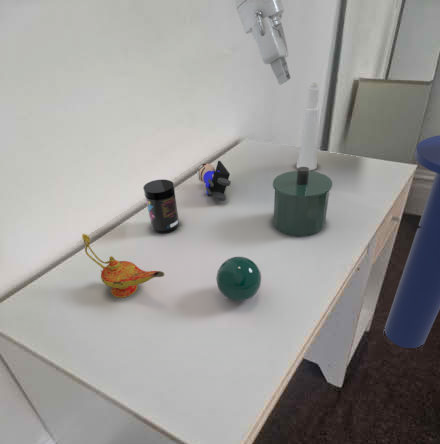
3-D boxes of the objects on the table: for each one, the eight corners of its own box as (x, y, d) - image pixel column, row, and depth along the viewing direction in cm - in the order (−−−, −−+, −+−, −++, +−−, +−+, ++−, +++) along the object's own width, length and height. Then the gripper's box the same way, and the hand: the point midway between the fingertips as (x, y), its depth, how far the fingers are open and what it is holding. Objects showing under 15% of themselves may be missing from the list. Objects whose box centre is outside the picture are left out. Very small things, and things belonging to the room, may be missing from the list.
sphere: (236, 317, 64) (234, 281, 59) (209, 294, 69) (205, 259, 64) (270, 297, 68) (271, 262, 62) (242, 276, 73) (241, 242, 67)
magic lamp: (159, 315, 66) (147, 266, 59) (84, 289, 73) (65, 242, 65) (179, 292, 70) (171, 243, 63) (106, 270, 77) (91, 223, 70)
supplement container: (163, 217, 92) (156, 177, 86) (185, 223, 89) (179, 182, 83) (146, 230, 88) (136, 189, 81) (168, 237, 85) (160, 195, 78)
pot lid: (300, 170, 87) (302, 152, 84) (344, 187, 79) (347, 168, 76) (260, 187, 82) (260, 169, 79) (303, 207, 74) (305, 187, 71)
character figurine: (209, 208, 95) (198, 185, 106) (236, 202, 95) (222, 179, 107) (204, 180, 90) (192, 158, 101) (233, 173, 90) (218, 152, 101)
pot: (297, 206, 92) (300, 169, 86) (334, 223, 85) (341, 184, 79) (263, 222, 87) (263, 184, 81) (299, 242, 80) (303, 202, 74)
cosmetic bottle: (315, 171, 107) (325, 86, 92) (294, 170, 108) (300, 86, 94) (318, 163, 111) (327, 80, 97) (297, 162, 113) (304, 80, 98)
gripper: (269, -1, 68) (295, 77, 74) (280, 9, 85) (301, 72, 90) (238, 18, 71) (266, 92, 76) (255, 25, 88) (277, 85, 93)
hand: (285, 81), depth 84 cm, fingers open, 8 cm apart
